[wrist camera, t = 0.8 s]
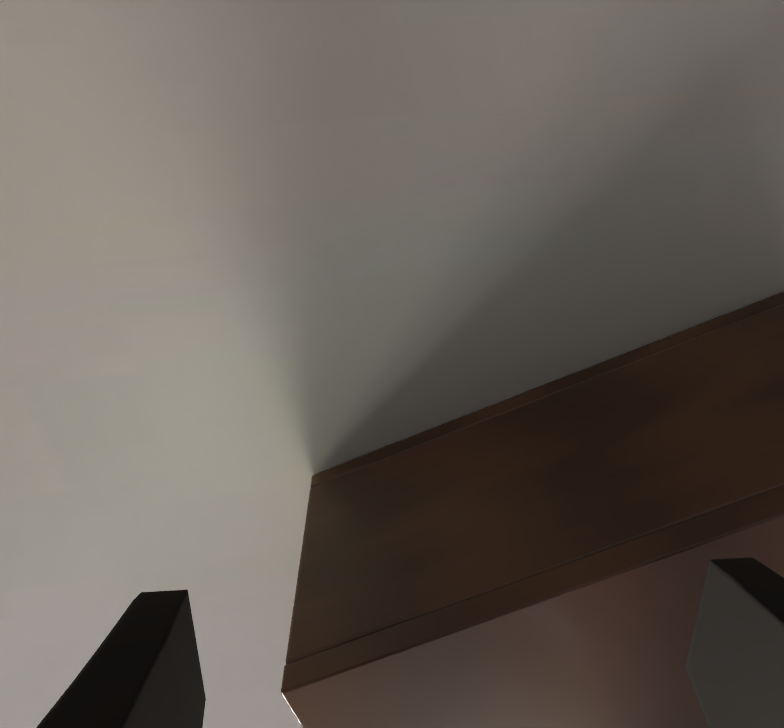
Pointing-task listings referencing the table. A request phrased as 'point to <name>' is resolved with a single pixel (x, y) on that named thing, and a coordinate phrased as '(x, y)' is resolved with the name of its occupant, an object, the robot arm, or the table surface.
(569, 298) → the table surface
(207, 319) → the table surface
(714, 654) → the robot arm
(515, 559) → the cabinet
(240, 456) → the table surface
